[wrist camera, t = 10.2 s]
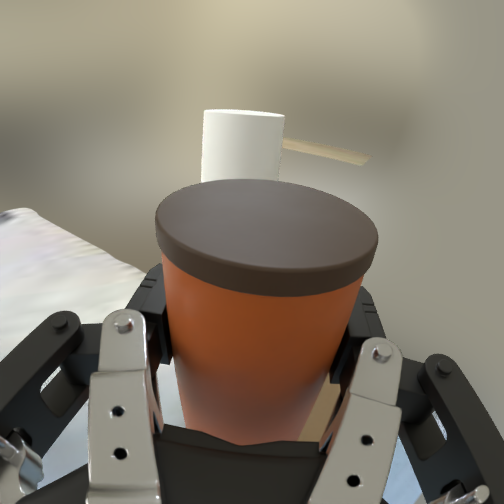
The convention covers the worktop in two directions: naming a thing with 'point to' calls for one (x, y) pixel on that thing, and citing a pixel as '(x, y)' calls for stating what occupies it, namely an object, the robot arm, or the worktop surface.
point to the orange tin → (258, 300)
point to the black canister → (320, 412)
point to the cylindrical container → (241, 145)
